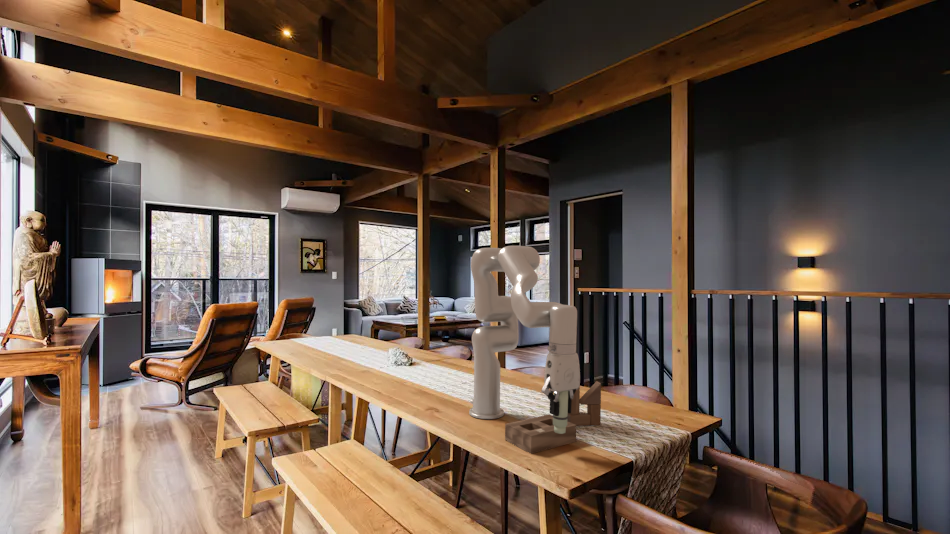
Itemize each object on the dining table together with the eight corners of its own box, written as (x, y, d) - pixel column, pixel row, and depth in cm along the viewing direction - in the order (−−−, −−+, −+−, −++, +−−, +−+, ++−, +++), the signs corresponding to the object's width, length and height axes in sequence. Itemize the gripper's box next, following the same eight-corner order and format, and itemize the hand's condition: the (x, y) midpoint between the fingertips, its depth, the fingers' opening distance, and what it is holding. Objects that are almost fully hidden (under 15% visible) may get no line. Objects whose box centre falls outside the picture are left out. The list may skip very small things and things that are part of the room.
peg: (549, 430, 128) (551, 381, 128) (559, 427, 130) (561, 379, 130) (559, 435, 124) (561, 384, 124) (570, 432, 127) (571, 383, 126)
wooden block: (600, 425, 151) (601, 372, 152) (570, 426, 150) (570, 372, 150) (596, 422, 155) (597, 369, 155) (566, 423, 154) (567, 370, 154)
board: (505, 440, 136) (505, 423, 137) (548, 429, 146) (549, 414, 147) (530, 453, 126) (531, 435, 127) (576, 441, 136) (576, 424, 137)
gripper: (549, 353, 119) (547, 422, 119) (593, 348, 128) (590, 412, 129) (531, 348, 125) (529, 414, 126) (573, 344, 135) (571, 405, 135)
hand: (560, 412), depth 127 cm, fingers closed on peg, 4 cm apart
